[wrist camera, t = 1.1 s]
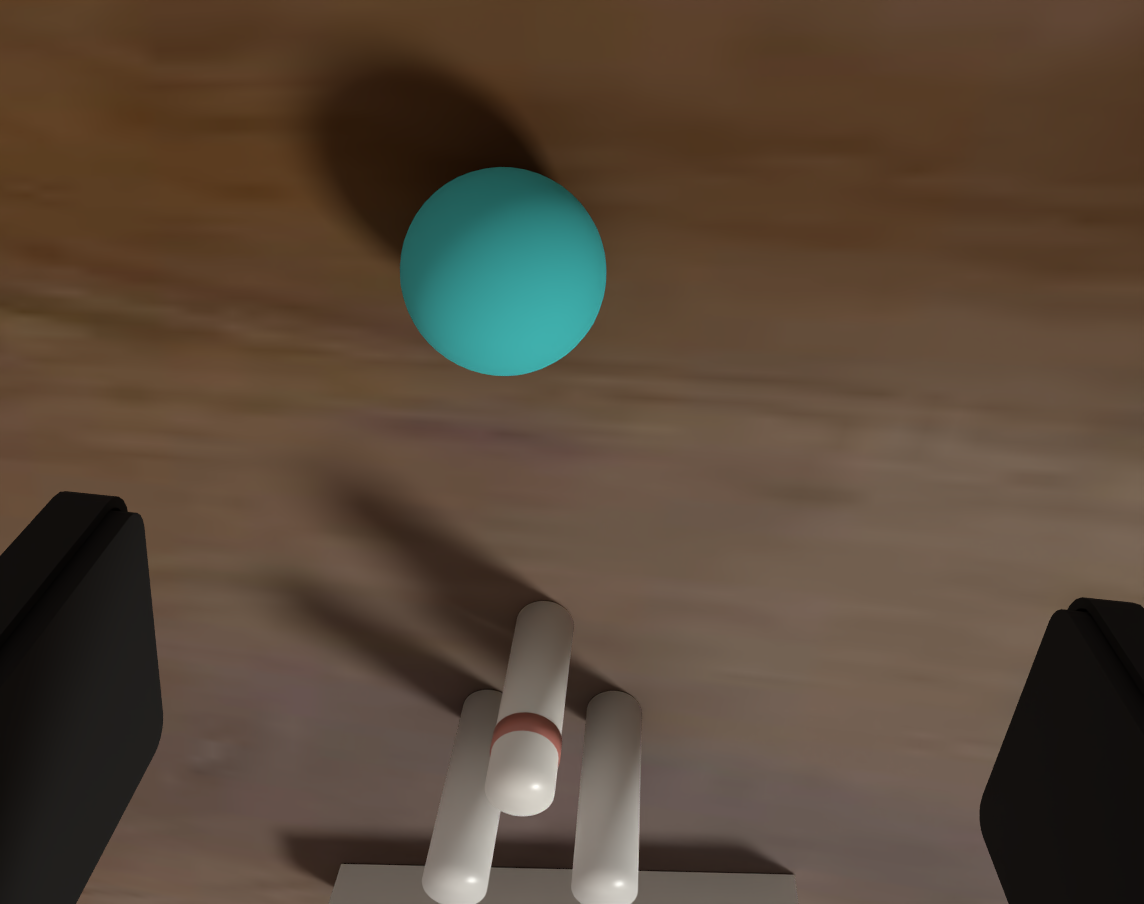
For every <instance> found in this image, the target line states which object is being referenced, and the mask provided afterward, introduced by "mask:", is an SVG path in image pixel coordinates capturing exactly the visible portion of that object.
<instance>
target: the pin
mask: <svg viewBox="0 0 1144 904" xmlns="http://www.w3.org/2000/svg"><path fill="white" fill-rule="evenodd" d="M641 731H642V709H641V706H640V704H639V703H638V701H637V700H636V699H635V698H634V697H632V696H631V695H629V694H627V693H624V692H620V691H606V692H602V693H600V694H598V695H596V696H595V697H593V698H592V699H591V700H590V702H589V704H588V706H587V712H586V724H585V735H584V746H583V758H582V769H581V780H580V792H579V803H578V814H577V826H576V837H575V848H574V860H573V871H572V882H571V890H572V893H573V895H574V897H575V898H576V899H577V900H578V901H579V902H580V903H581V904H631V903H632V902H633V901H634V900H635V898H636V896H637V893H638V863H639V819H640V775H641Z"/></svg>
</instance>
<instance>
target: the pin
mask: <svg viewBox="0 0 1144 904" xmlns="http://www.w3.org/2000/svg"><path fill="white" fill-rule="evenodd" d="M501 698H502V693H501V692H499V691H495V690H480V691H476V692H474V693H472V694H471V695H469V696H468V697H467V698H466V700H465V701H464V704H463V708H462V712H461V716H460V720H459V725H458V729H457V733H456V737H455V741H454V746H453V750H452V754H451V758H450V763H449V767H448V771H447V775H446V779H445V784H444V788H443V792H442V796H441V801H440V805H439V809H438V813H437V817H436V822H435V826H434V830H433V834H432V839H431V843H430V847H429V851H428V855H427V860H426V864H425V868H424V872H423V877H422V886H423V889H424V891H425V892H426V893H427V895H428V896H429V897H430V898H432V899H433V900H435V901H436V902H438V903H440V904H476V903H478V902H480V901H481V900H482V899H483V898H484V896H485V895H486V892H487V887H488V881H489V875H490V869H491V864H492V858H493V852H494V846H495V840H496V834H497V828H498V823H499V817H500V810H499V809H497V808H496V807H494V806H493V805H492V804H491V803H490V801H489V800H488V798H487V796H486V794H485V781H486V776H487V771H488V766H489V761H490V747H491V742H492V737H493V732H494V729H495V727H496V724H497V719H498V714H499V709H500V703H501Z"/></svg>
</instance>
